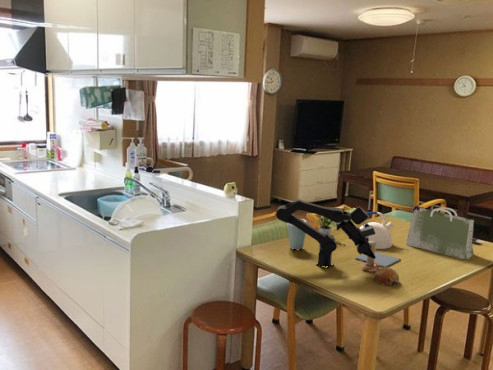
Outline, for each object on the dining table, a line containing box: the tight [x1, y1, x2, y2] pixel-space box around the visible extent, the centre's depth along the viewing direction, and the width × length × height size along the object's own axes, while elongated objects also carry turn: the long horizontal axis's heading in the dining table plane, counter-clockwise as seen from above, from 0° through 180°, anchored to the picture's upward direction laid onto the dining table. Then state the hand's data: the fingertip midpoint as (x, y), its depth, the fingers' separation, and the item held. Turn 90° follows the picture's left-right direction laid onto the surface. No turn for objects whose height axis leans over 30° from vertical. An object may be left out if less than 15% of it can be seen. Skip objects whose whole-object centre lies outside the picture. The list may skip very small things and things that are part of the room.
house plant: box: [315, 214, 336, 234], centre depth 248 cm, size 14×14×16 cm
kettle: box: [359, 211, 395, 250], centre depth 243 cm, size 20×21×18 cm
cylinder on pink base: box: [361, 241, 380, 272], centre depth 204 cm, size 7×5×13 cm
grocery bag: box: [405, 206, 475, 260], centre depth 236 cm, size 32×14×23 cm, turn 49°
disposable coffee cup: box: [286, 218, 308, 250], centre depth 229 cm, size 11×11×15 cm
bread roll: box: [374, 266, 400, 286], centre depth 191 cm, size 10×10×8 cm
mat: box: [354, 251, 401, 268], centre depth 218 cm, size 16×16×1 cm
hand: (374, 256), depth 203 cm, fingers open, 6 cm apart
